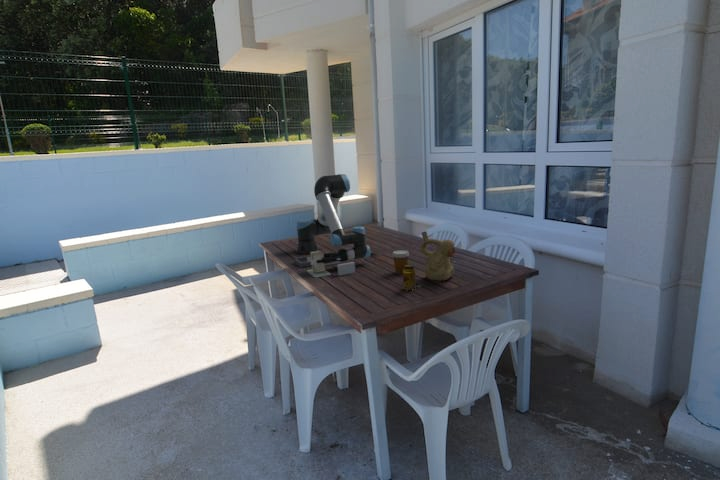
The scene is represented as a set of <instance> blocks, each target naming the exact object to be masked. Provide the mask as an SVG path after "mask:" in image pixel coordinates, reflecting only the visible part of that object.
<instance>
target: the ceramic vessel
mask: <svg viewBox="0 0 720 480" xmlns="http://www.w3.org/2000/svg"><path fill="white" fill-rule="evenodd" d="M421 236H422V240H423V241H422V242H421V243H420V251H421V253H422V254H423V255H425V256H427V259H426V261H425V265H424V273H425V277H426V278H427V279H428V280H431V281H436V280H437V282H438V281H439V282H441V281H442V280H443V281H446V280H449V278H451V276H452V275H453V274H454V272H455V269H454V266H453V265H452V264H451V258H453V256H455V254H456V253H457V251H456V249H455V245H456V244H455V242H454V241H453V240H451V239H444V240H439V239H435V238H429V236H428V232H427V231H426V230H425V231H422V232H421ZM428 244H435V245H436V246H437V248H436V249H435V250H433V251H430V250H428V249H427V248H426V245H428Z"/></svg>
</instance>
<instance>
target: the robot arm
mask: <svg viewBox="0 0 720 480" xmlns="http://www.w3.org/2000/svg"><path fill="white" fill-rule="evenodd" d="M350 189H351V184H350V179H349V177H348V175H347V174H345V173H344V174H343V173H342V174H341V173H340V174H329V175H322V176H320V177H319V178H318V179H317V181H315V183H314V188H313V192H314V197H315V199H316V200H317V201H318V203H319V205H320V208H321V213H320V214H318V216H317V218H313V217H304V218H302V219H299V220H297V221H296V234H297V245H296V254H298V255H311V253H310V252H314V251H319V247H318V244H317V243H316V236H323V235H329V234H331V235H329V241H330V242H329V243H330V245H331V246H332V247H335V248H337V247H342V246H343V247H344V246H347V245H353V247H352V246H351V247H345V248H341V249H338V250H337V252H326V253H324V258H323V257H322V258H320V259H314V260H311V257H307V262H311V265H313V264H319V263H325V264H326V263H331V262H336V261H340V263H342V262H344V263H345V262H347V261H348V262H349V261H350V262H352V261H353V260H359V259H360V260H361V259H365V258H368V257H370V256H371V254H372V253H371V251H372V250H371V248H370V245H368V244H367V243H366V241H367V240H366V229H365V227H364V226H362V225H361V226H354V227H352V230H351V231H346V232H345V230H344V228H343V225H342V223H341V220H340V218H339V215H338V212H337V208H338V205H339V202H340V199H342V198H343V197H344V195H345V193H348V192H350Z"/></svg>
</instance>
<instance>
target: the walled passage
mask: <svg viewBox="0 0 720 480" xmlns="http://www.w3.org/2000/svg"><path fill="white" fill-rule="evenodd" d="M324 265H325V266H330V265H332V266H333V265H337V266H336V267H337V275H338V276H344V275H351V274H355V273H356V262H354V261H350V262H344V263H341V262H340V261H336V262H331V263H326V264H325V263H324Z"/></svg>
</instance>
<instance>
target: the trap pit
mask: <svg viewBox="0 0 720 480" xmlns="http://www.w3.org/2000/svg"><path fill="white" fill-rule="evenodd" d="M307 257H311V255H307V256H300V257H295V258H294V264H296V266H298V267H299V268H300V269H303V268H309V267H310V268H311V267H312V265H311V262H307Z"/></svg>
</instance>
